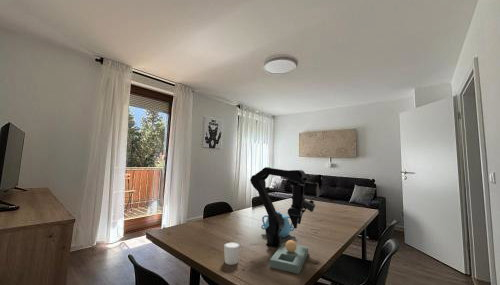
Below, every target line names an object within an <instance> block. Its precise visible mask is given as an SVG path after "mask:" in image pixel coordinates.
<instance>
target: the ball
mask: <svg viewBox="0 0 500 285" xmlns="http://www.w3.org/2000/svg"><path fill="white" fill-rule="evenodd" d="M285 243H286V245H285V247H286V249H287V251H289V252H294V251H295V250H296V247H297V246H296V245H297V244H296V242H295V240H292V239H289V240H287V241H286V242H285Z"/></svg>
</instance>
